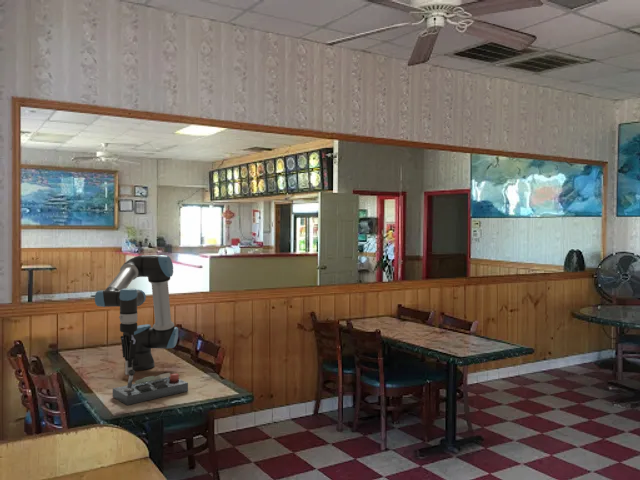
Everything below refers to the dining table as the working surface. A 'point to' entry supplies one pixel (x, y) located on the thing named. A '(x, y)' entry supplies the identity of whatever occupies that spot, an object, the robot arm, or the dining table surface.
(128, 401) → the panel
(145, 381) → the white flat block
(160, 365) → the dining table surface
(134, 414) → the dining table surface
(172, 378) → the button
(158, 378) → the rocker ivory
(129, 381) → the lever
